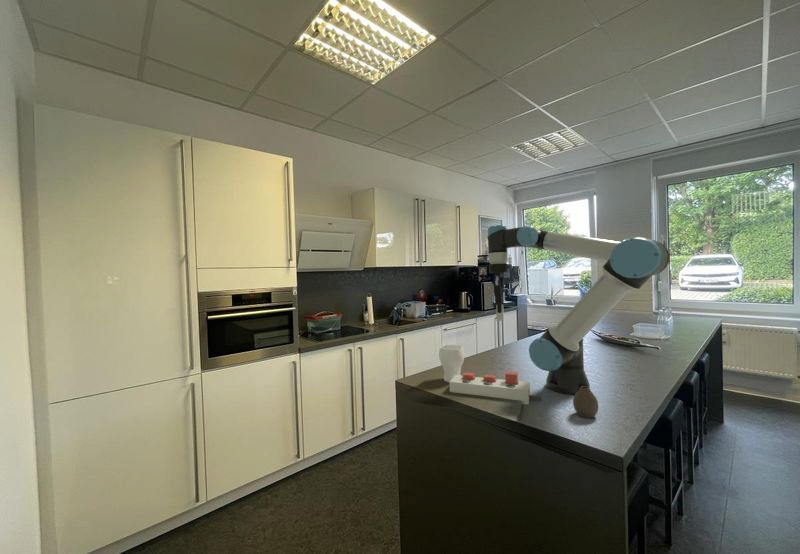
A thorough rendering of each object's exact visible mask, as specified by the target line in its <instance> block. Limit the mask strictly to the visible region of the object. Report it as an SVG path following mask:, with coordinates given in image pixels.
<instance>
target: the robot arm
mask: <svg viewBox="0 0 800 554" xmlns="http://www.w3.org/2000/svg"><path fill="white" fill-rule="evenodd" d="M487 245H488V246H487V247H488V255H487V256H486V258H487V259H488V263H489V264H488V273H490V274H494V277H492V282H493V292H494V303H493V305H494V306H495V313H496V314H495V315H496V316H495V317H496V319H495V320H496V321H498V322H499V321H500V322H503V321H504V320H505V316H504V305H506V303H505V300H504V299H505V298H504V297H505V296H504V289H505V288H504V287H505V284H504V283H505V277H504V275H503V274H504V273H508V272H509V264H508V262H509V258H508V255H509V253H508V249H509V248H533V249H538V250H545V251H551V252H554V253H561V254H565V255H571V256H575V257H581V258H586V259H590V260H597V261H600V262H605V264H603V266H602V272H603V273H602V274H601V276H600V277H599V278H598V279H597V280H596V282H594V283H593V285H592V286H591V287H590V288H589V289H588V290H587V291H586V293H584V294H583V296H582V297H581V298H580V299H579V301H578V302H576V304H575V305H574V306H573V307H572V308H571V309H570V310H569V311H568V313H567V314H566V315H565V316H564V317H563V318H562V319H561V321H559V323H557V325H551V326H549V327H548V328H547V329H546V330H545V331H544V333H542V334H541V336H539V337H538V338H535V339H534V340H532V342H530V344H529V346H528V353H529V358H530V360H531V362H532V363H533V365H535V366H536V367H537V368H538V369H540V370H542V371H545V372H548V373H547V376H546V381H545V382H546V383H545V384H546V388H548V389H549V390H552V391H554V392H557V393H561V394H568V395H575V394H576V393H577V392H578V391H579V389H580V387H582V386H586V387H589V388H590V389H591V385H590V381H589V379H588V376H587V374H586V371H585V365H584V364H585V363H584V338H585V337H586V336H587V334H589V332H591V330H592V329H594V327H596V325H597V324H598V323H599V322H601V320H603V318H604V317H605V316H606V315H607V314H608V313H609V312H610V311H611V310H612V309H613V308H614V307H615V306H616V305H617V304H618V303H619V302H620V300H622V299H623V298H624V297H625V296H626V295H627V294H628V293H629V292H630V291H635V290H636V291H638V290H639V289H640V288H641V287H642V286H644V284H645V283H647V281H648V280H649V279H650V278H651V277H653V276H655V275H659V274H660V273H662V272H663V271H665V269H666V268H667V267H668V265H669V263H670V261H671V256H670V252H669V249H668V248H667V247H666V246H665V245H664V244H663V243H662V242H660V241H658V240H653V239H650V238H648V237H642V236H637V237H629V238H627V239H624V240H622V241H615V240H609V239H604V238H596V237H588V236H581V235H575V234H568V233H563V232H562V233H561V232H555V231H548V230H543V229H536V227H535V226H534V225H527V226H526V225H524V226H520V227H513V228H507V225H504V224H497V225H496V224H494V225H490V226H489V227H488V228H487Z"/></svg>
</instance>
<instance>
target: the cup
mask: <svg viewBox="0 0 800 554" xmlns="http://www.w3.org/2000/svg"><path fill="white" fill-rule="evenodd" d="M438 351H439V356H438V357H439V361H440V364H441V366H442V368H443V373H444V374H443V380H444V382H446V383H447V382H448V383H449V382H450V381H451V380H452V378H453V377H454V376H455V375H461V372H462V371H461V369H462V367H463V364H464V361H465V352H464V351H465V350H464V348H463V346H462V345H456V344H446V345H441V346H440V347H439V350H438Z"/></svg>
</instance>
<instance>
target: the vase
mask: <svg viewBox="0 0 800 554" xmlns="http://www.w3.org/2000/svg"><path fill="white" fill-rule="evenodd" d="M572 404H573V405H572V406H573V408H574V411H575V412H576V413H577V414H578V416H580V417H583V418H587V419H590V418H594V417H595V416H596V415H597V414H598V411H599V401H598V398H597V397H596V396H595V394H594V393H593V391H591V387H590V388H589V387H586V386H582V387H580V389H579V391H578V392H577V393H576V394H573V398H572Z"/></svg>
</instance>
